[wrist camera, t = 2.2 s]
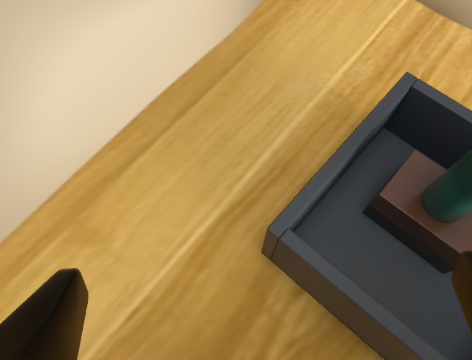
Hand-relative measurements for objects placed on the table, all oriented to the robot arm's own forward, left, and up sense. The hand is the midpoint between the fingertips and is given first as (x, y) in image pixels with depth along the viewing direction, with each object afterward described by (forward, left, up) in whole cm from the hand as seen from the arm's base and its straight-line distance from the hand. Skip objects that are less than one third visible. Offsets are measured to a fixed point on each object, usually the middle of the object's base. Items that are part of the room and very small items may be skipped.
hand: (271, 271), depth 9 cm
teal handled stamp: (-4, -12, -14) cm, 19 cm away
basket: (-5, -10, -15) cm, 19 cm away
